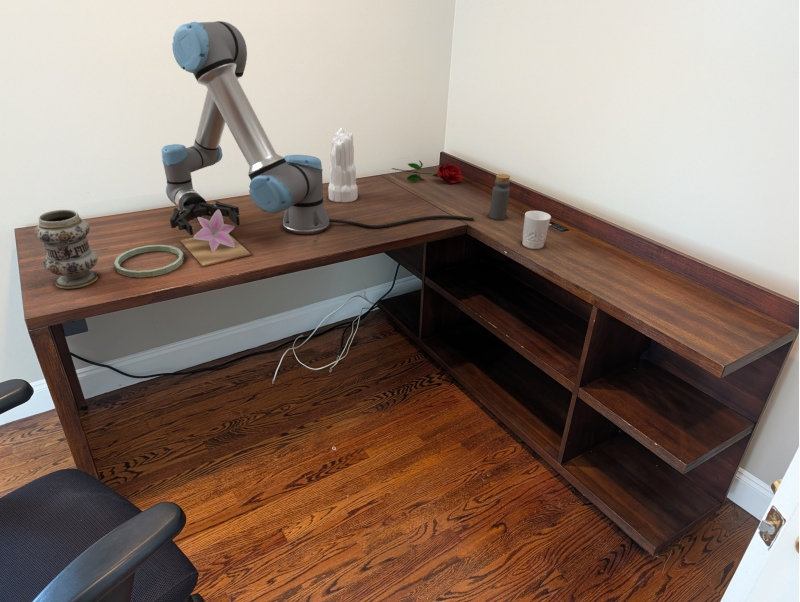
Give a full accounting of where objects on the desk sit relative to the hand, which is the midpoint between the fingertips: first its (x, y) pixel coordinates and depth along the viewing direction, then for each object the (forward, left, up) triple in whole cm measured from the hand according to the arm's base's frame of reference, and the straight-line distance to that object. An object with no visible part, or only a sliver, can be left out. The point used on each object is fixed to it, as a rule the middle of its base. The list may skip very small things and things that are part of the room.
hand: (215, 225), depth 152 cm
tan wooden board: (+2, -2, -8) cm, 9 cm away
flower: (-53, -83, -9) cm, 99 cm away
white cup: (-93, -27, -9) cm, 97 cm away
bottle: (-82, -49, -9) cm, 96 cm away
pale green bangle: (+15, +11, -8) cm, 20 cm away
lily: (+2, -3, -8) cm, 9 cm away
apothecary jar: (+28, +24, -9) cm, 38 cm away
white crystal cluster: (-24, -55, -9) cm, 61 cm away
